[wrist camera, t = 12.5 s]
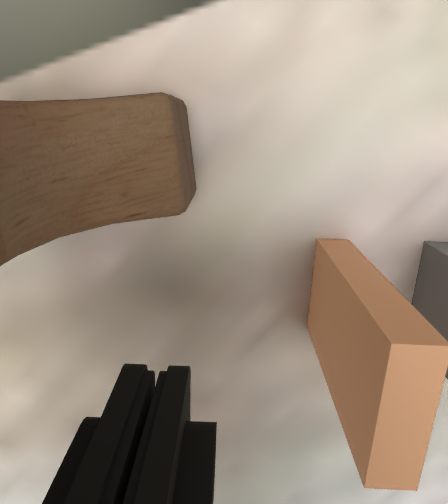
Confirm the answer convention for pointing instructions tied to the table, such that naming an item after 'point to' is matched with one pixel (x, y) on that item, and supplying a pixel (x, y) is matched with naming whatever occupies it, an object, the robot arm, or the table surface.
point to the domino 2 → (433, 287)
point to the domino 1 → (375, 364)
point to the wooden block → (90, 166)
